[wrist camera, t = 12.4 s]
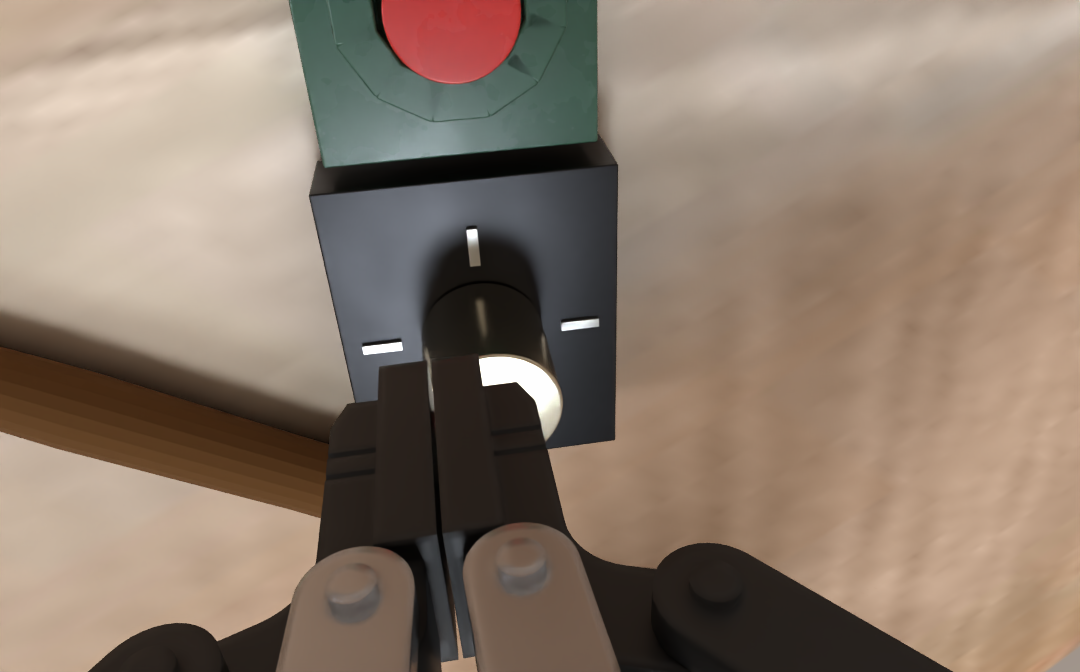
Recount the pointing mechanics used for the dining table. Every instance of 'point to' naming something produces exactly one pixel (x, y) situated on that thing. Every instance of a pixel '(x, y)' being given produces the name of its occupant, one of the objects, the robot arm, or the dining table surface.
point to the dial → (497, 342)
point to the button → (452, 36)
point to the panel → (479, 260)
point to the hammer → (158, 433)
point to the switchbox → (445, 86)
